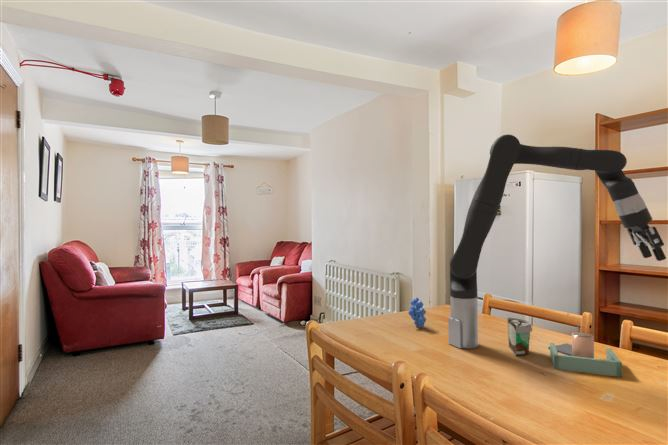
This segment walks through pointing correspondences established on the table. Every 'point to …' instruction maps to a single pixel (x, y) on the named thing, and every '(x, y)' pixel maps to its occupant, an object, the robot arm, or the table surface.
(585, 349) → the brown cylinder
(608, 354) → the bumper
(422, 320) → the grapes
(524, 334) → the food container
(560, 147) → the robot arm
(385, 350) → the table surface
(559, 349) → the mat
